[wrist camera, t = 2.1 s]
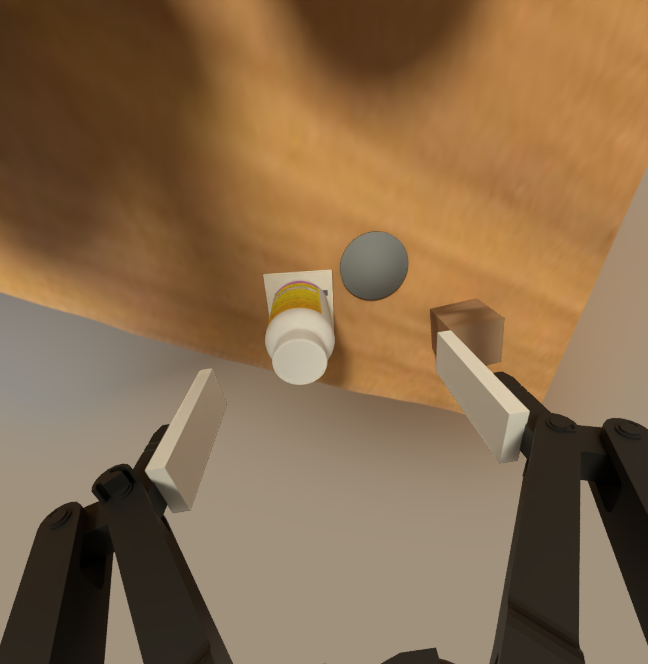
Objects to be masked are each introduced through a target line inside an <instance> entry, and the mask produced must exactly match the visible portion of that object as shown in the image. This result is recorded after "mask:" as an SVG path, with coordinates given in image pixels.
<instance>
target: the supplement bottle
mask: <svg viewBox="0 0 648 664" xmlns="http://www.w3.org/2000/svg"><path fill="white" fill-rule="evenodd" d="M334 344H335V336H334V331H333V326H332V322H331V317H330V312H329V306H328V302H327V298H326V296H325V294H324V292H323V291H322V289H321V288H320V287H319V286H317V285H316V284H314V283H312V282H310V281H306V280H293V281H290V282H288V283H286V284H284V285H283V286H282V287H280V288H279V290H278V291H277V292H276V294H275V296H274V299H273V303H272V308H271V313H270V317H269V322H268V326H267V330H266V336H265V345H266V349H267V352H268V354H269V356H270V357H271V359H272V365H273V369H274V371H275V373H276V374H277V375H278V376H279V377H280V378H281V379H282V380H284V381H285V382H288V383H291V384H295V385H305V384H309V383H312V382H314V381H316V380H317V379H319V378H320V377H321V376H322V375H323V374H324V372H325V370H326V367H327V360H328V359H329V357H330V356H331V354H332V352H333V349H334Z"/></svg>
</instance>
